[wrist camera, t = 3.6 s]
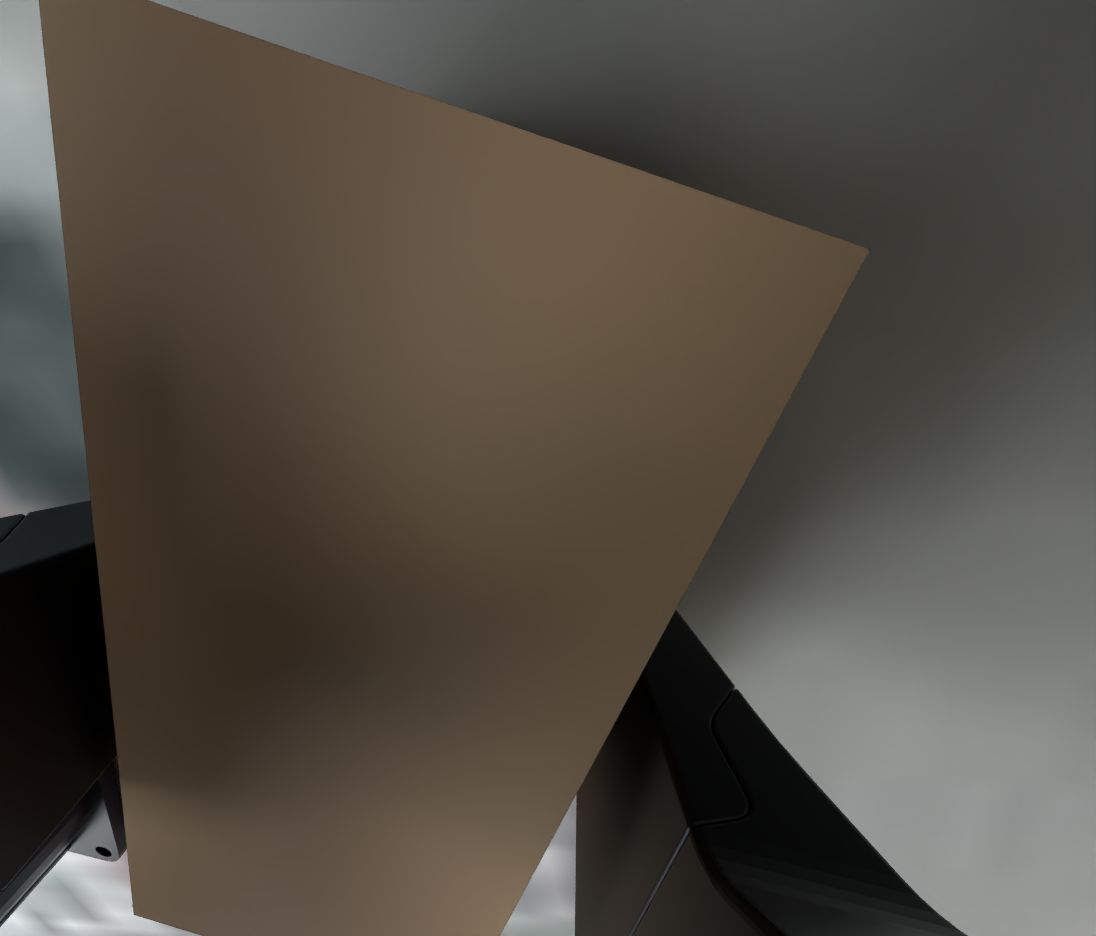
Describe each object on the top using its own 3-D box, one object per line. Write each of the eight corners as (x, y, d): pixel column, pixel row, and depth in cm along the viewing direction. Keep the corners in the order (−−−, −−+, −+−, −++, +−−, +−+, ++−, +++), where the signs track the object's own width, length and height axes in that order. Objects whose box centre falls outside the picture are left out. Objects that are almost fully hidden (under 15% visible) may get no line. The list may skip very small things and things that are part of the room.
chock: (716, 240, 8) (869, 249, 3) (515, 725, 12) (457, 1013, 8) (387, 126, 7) (33, -40, 3) (312, 660, 12) (133, 914, 8)
